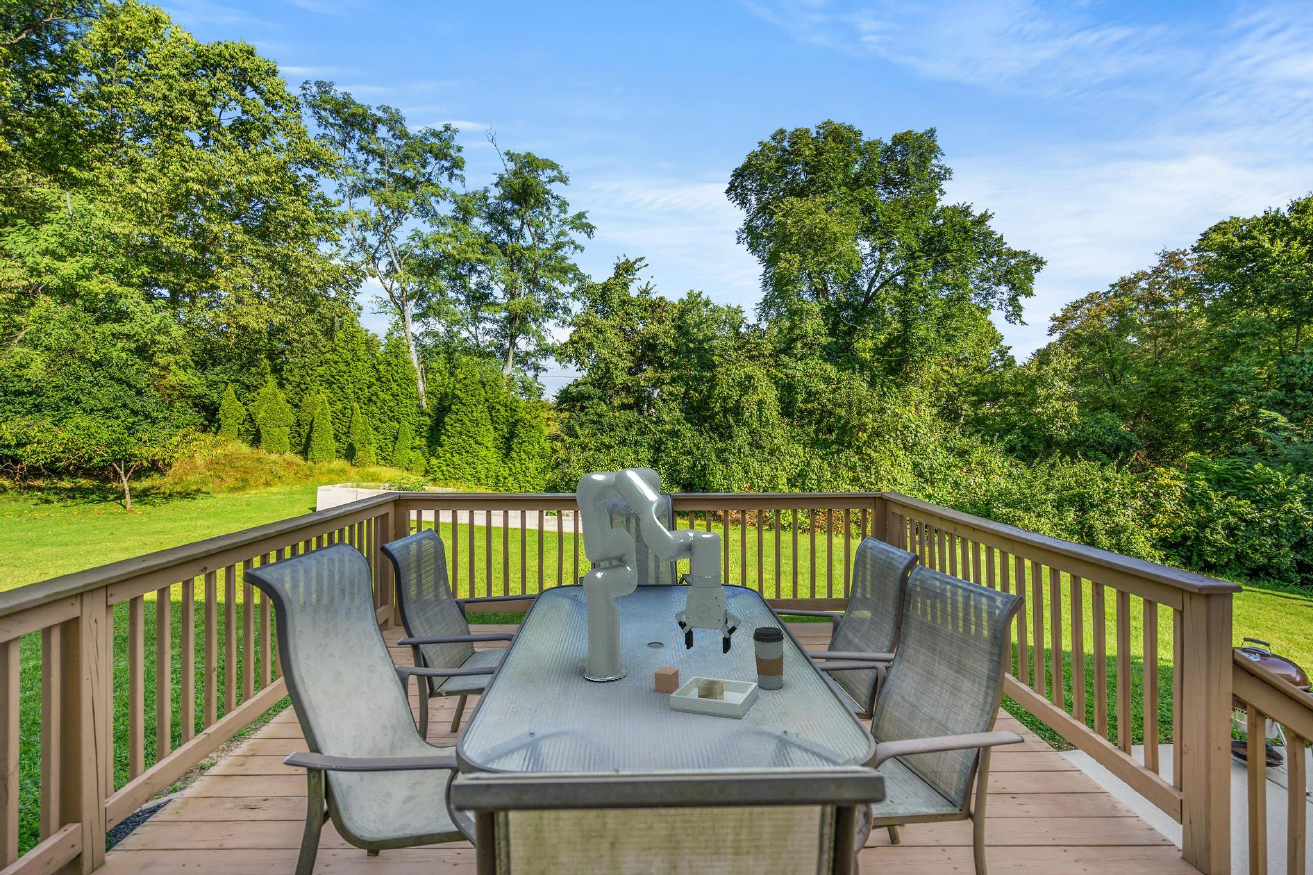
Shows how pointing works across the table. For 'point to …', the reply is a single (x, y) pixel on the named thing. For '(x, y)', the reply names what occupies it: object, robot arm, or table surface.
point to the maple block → (711, 690)
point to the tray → (733, 706)
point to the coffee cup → (769, 656)
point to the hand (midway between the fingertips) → (707, 650)
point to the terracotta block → (666, 680)
